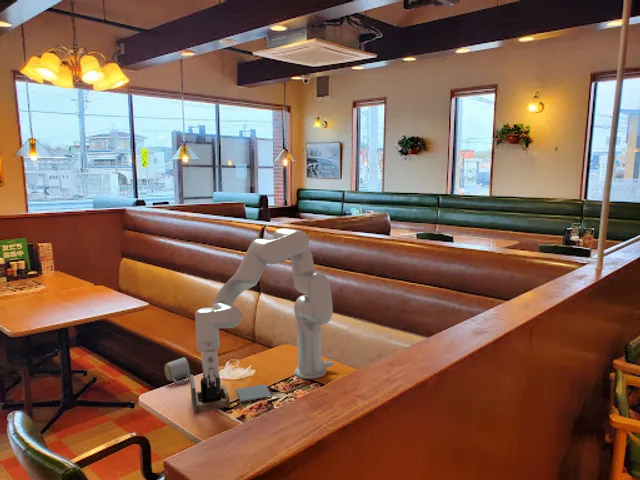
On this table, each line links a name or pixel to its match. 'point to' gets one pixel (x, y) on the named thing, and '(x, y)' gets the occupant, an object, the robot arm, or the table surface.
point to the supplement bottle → (204, 390)
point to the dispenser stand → (209, 405)
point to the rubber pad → (252, 392)
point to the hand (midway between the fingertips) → (211, 392)
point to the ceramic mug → (177, 370)
